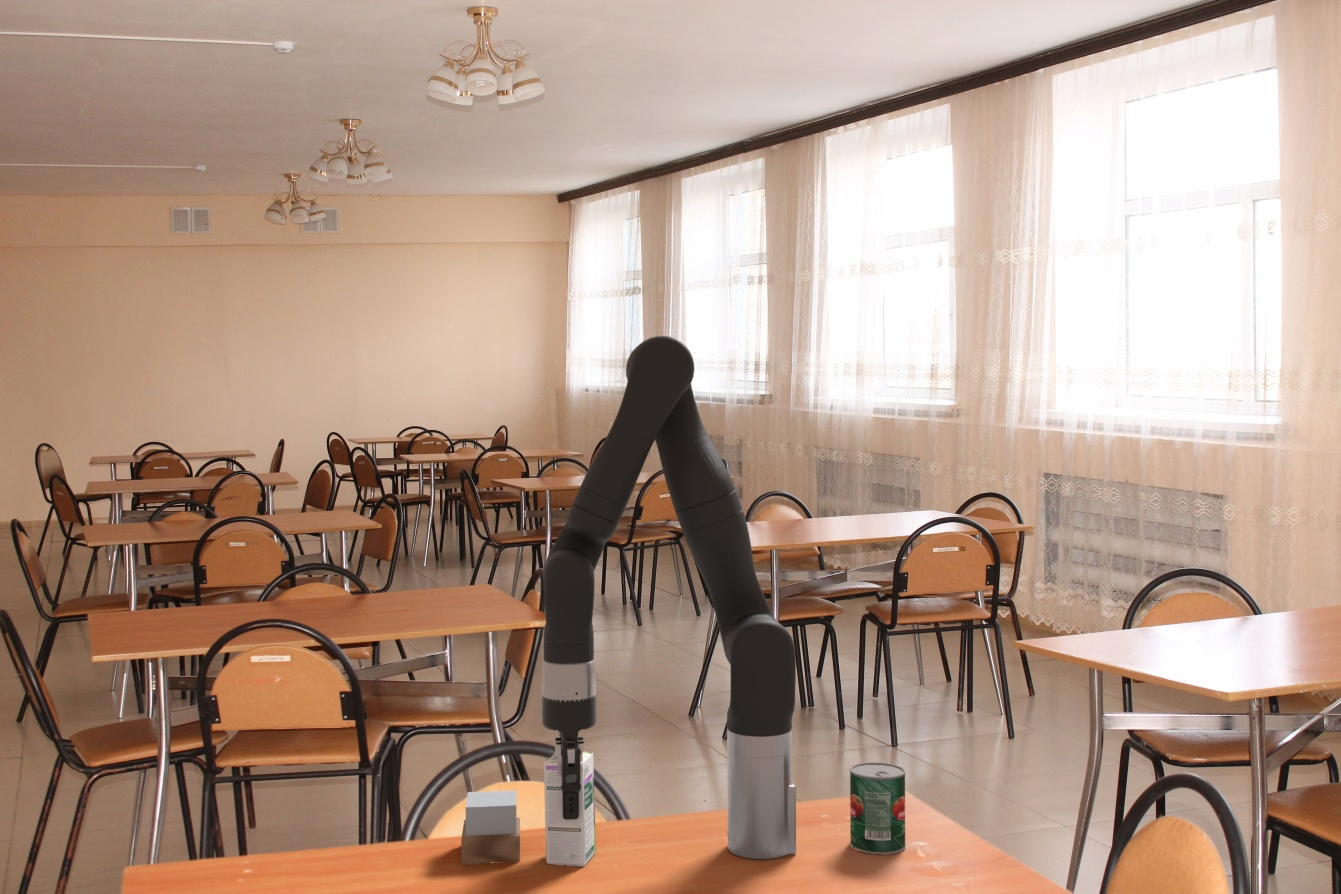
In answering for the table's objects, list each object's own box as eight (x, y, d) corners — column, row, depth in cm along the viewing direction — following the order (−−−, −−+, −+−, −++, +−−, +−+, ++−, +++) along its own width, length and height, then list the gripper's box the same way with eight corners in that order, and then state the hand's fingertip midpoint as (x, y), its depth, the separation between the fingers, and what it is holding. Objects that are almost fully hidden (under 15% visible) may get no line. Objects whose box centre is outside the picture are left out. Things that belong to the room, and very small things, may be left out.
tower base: (520, 844, 174) (519, 817, 174) (519, 864, 166) (519, 836, 166) (464, 847, 173) (464, 819, 173) (461, 867, 165) (461, 838, 165)
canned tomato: (841, 839, 174) (840, 764, 174) (890, 834, 176) (889, 760, 176) (864, 858, 166) (864, 779, 166) (915, 852, 168) (915, 774, 168)
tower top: (516, 817, 174) (516, 790, 173) (516, 833, 167) (516, 805, 167) (467, 819, 173) (467, 792, 173) (465, 836, 166) (465, 807, 166)
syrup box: (585, 867, 163) (584, 762, 163) (544, 864, 165) (543, 759, 164) (596, 852, 169) (595, 751, 169) (556, 850, 170) (555, 749, 170)
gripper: (599, 702, 160) (599, 826, 160) (593, 680, 174) (593, 793, 174) (542, 704, 159) (543, 828, 159) (541, 682, 173) (542, 795, 173)
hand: (569, 810), depth 167 cm, fingers closed on syrup box, 6 cm apart
